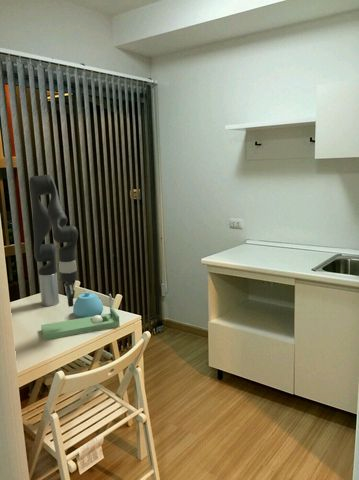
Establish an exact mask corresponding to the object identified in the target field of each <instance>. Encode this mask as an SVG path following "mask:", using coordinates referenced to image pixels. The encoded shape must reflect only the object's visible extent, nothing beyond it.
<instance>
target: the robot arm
mask: <svg viewBox="0 0 359 480" xmlns="http://www.w3.org/2000/svg"><path fill="white" fill-rule="evenodd" d="M28 181H29V182H28V184H29V191H30V199H31V200H30V202H31V210H32V211H31V213H32V230H33V241H34V242H33V254H34V255H33V256H34V259H35V261H36V262H37V263H43V262H44V263H45V262H47V264H45V265H44V266H41V267H39V269H38V277H39V286H40V287H39V289H40V300H41V305H42V306H44V307H50V306H51V307H52V306H55V305H57V304H60V299H59V297H60V295H59V285H58V284H59V283H58V274H57V271H58V270H57V258H56V257H57V255H56V253H57V252H56V246H55V244H54V243H45V244H43V241H44V240H45V237H47V235H48V234H49V232H51V230H52V234H53V235H52V236H53V240H54V241H55V242H56V243H59V244H64V243H67V244H66V245H64V246H62V247H60V248H59V249H58V259H59V261H58V263H59V265H58V266H59V268H58V269H59V280H60V281H61V283H62V282H63V283H64V284H63V285H64V291H65V294H66V298H67V306H68V307H69V308H70V307H71V308H72V307H74V299H75V292H76V290H75V283H74V282H75V281H77V280H78V269H77V266H78V265H77V261H76V260H77V259H76V246H77V241H78V237H79V231H78V229H77V227H76V226H74V225H67V224H68V217H67V215H66V213H65V211H64V208H63V206H62V203H61V200H60V197H59V192H58V189H57V186H56V184H55V180H54V178H53V177H52V175H51V174H42V175H41V174H40V175H35V176H31V177H30V178H29V180H28ZM49 194H50V200H49V203H48V206H47V207H46V206H45V205H44V204H43V203H42V201H41V200H40V196H44V195H45V196H46V195H49Z"/></svg>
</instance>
